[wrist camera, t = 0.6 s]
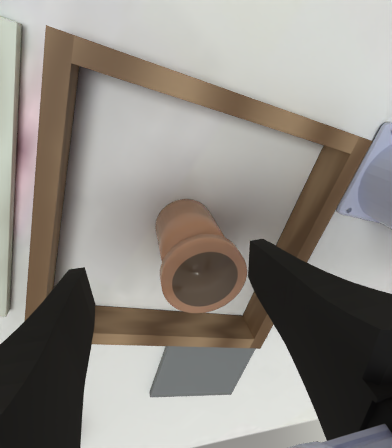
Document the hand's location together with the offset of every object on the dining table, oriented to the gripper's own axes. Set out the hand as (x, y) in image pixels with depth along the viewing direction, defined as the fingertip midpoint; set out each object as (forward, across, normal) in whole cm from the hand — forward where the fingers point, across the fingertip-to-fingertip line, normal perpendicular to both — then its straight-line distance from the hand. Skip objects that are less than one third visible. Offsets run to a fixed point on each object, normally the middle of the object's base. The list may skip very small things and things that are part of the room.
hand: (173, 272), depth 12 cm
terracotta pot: (+10, -2, +3) cm, 11 cm away
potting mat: (+10, -3, +21) cm, 23 cm away
